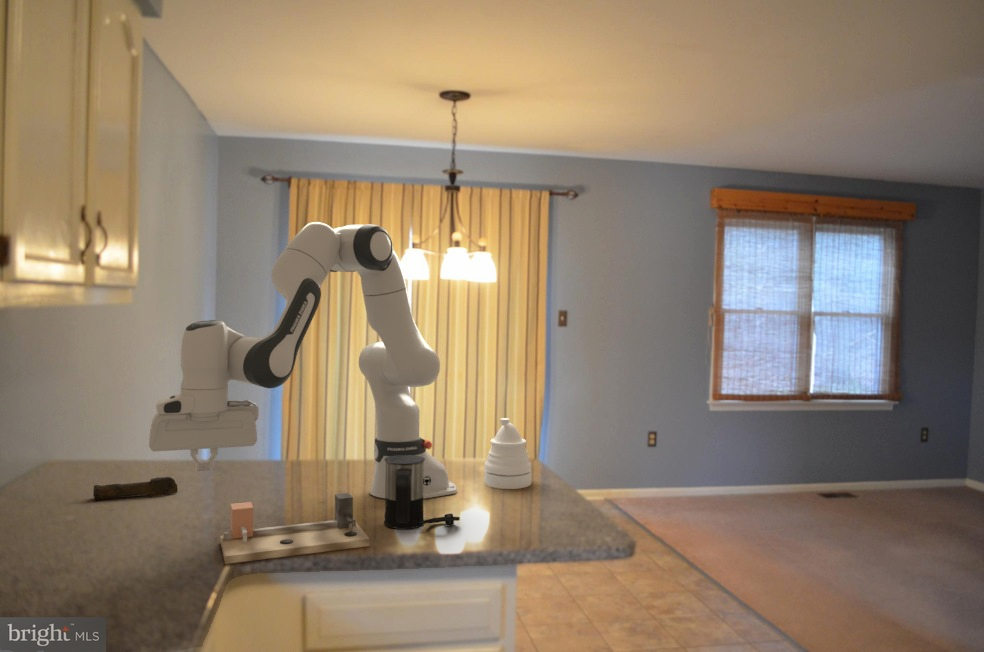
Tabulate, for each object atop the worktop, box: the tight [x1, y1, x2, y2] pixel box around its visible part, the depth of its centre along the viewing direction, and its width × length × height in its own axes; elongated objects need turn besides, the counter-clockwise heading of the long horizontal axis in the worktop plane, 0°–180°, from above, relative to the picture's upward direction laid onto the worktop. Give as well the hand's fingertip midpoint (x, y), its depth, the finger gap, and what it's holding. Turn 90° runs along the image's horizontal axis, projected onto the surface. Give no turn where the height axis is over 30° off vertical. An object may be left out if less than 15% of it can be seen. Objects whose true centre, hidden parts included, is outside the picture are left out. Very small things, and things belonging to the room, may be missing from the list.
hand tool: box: [93, 476, 178, 501], centre depth 189 cm, size 19×4×5 cm, turn 108°
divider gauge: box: [219, 492, 370, 565], centre depth 155 cm, size 28×13×8 cm, turn 114°
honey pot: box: [483, 417, 532, 490], centre depth 207 cm, size 13×13×18 cm
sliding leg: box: [230, 501, 254, 544], centre depth 152 cm, size 4×9×6 cm, turn 24°
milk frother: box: [383, 455, 461, 530], centre depth 169 cm, size 14×16×15 cm
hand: (203, 470), depth 151 cm, fingers closed
